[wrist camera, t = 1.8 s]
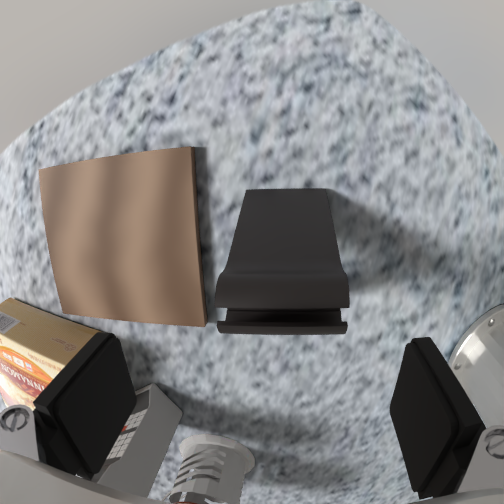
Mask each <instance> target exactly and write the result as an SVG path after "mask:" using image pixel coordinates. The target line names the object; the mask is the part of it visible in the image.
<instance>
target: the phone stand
mask: <svg viewBox="0 0 504 504" xmlns="http://www.w3.org/2000/svg"><path fill="white" fill-rule="evenodd" d="M349 304H350V303H349V285H348V279H347V275H346V273H345V272H344V270H343V268H342V265H341V260H340V255H339V250H338V245H337V240H336V235H335V230H334V225H333V221H332V216H331V211H330V207H329V202H328V198H327V194H326V189H255V190H246V193H245V196H244V200H243V204H242V208H241V211H240V215H239V219H238V223H237V227H236V230H235V234H234V238H233V242H232V246H231V250H230V254H229V257H228V261H227V264H226V267H225V269H224V271H223V272H222V273H221V274H220V275H219V278H218V281H217V285H216V293H215V307H216V308H227V309H228V310H227V314H226V320H225V321H218V322H217V328H218V331H219V332H220V333H228V334H261V335H329V334H345V333H346V331H347V327H348V325H347V322H342V320H341V311H340V308H349Z"/></svg>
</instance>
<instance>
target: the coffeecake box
mask: <svg viewBox="0 0 504 504" xmlns="http://www.w3.org/2000/svg"><path fill="white" fill-rule="evenodd" d="M97 332H102V331H98V330H95V329H92V328H89V327H86V326H83V325H80V324H77V323H75V322H72V321H69V320H66V319H63V318H61V317H58V316H55V315H52V314H50V313H47V312H44V311H42V310H39V309H37V308H34V307H32V306H29V305H27V304H24V303H22V302H20V301H17V300H15V299H13V298H8V299H7V300H5V301H4V302H2V303H1V304H0V393H1V395H2V397H3V400H4V402H5V404H6V407H7V408H8V407H10V406H13V405H19V404H21V405H26V406H28V407H30V408H31V410H32V411H33V410H34V409H35V406H34V404H33V401H34V400H35V399H36V398H37V397H38V396H39V394H40V393H41V392H42V391H43V390H44V389H45V388H46V387H47V386H48V384H49V383H50V382H51V381H52V380H53V379H54V378H55V377H56V376H57V374H58V373H59V372H60V371H61V370H62V369H63V368H64V367H65V366H66V365H67V364H68V362H69V361H70V360H71V359H72V358H73V357H74V356H75V355H76V354H77V353H78V352H79V351H80V350H81V348H82V347H83V346H84V345H85V344H86V343H87V342H88V341H89V340H90V339H91V338H92V337H93V336H94V335H95V334H96V333H97Z"/></svg>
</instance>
